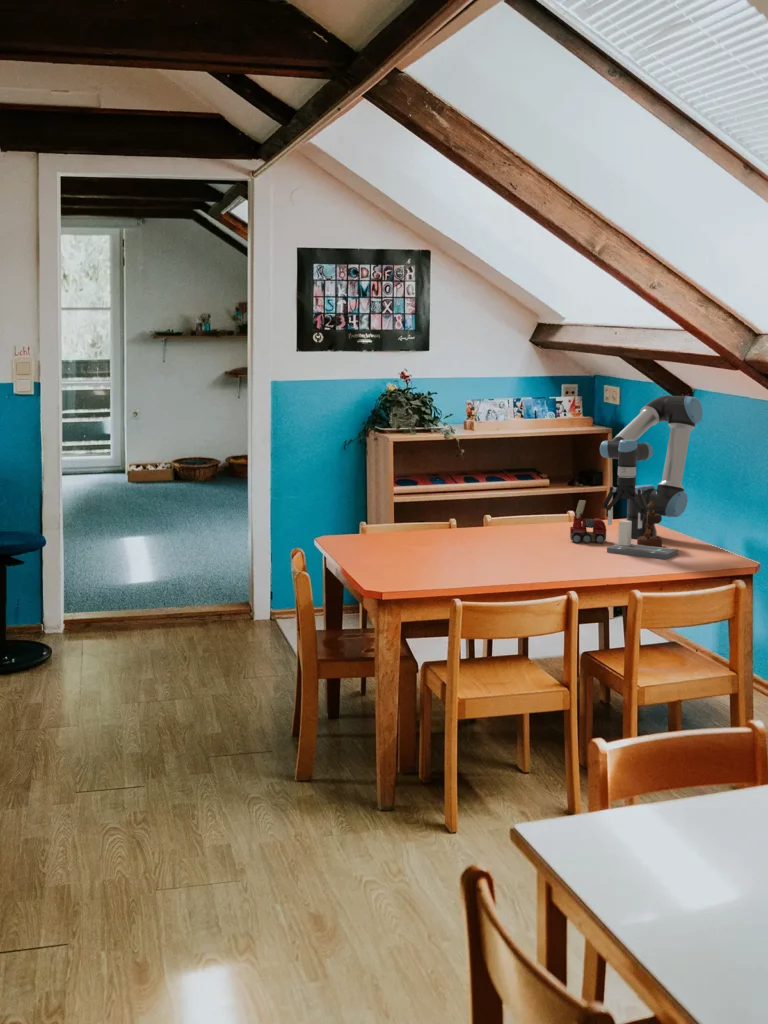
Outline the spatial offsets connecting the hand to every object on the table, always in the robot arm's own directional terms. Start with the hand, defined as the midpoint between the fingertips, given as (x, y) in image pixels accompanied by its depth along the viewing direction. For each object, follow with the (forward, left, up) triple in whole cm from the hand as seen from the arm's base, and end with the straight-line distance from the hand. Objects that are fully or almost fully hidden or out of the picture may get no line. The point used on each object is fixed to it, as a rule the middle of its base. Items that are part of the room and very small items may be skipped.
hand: (624, 526), depth 469 cm
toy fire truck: (-12, -23, -11) cm, 28 cm away
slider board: (0, +8, -11) cm, 13 cm away
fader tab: (0, 0, -9) cm, 9 cm away
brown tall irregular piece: (-17, +4, -11) cm, 21 cm away
